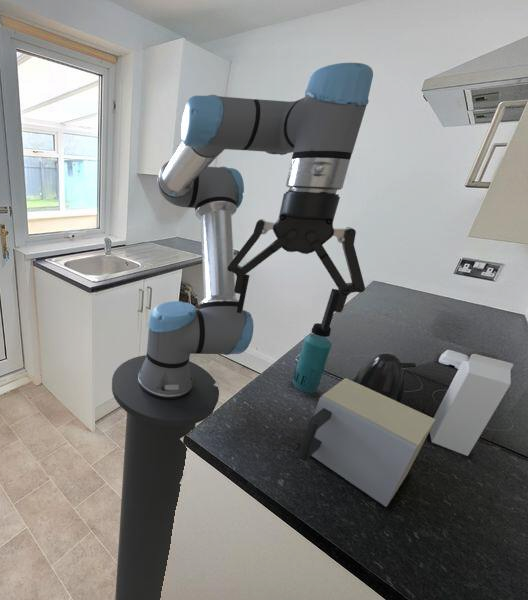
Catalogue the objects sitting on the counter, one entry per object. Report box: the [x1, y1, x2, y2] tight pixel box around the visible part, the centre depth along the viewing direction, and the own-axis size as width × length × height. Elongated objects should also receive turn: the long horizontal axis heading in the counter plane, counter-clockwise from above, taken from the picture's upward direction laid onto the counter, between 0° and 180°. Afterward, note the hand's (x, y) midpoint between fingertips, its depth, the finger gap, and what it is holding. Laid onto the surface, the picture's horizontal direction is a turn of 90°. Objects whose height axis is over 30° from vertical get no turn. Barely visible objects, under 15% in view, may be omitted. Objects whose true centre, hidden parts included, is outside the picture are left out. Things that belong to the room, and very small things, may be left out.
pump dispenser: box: [352, 352, 417, 403], centre depth 80 cm, size 10×10×15 cm
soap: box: [438, 349, 469, 370], centre depth 104 cm, size 9×7×3 cm
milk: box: [429, 353, 514, 457], centre depth 67 cm, size 6×6×22 cm
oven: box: [321, 377, 436, 502], centre depth 62 cm, size 11×15×14 cm
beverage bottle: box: [291, 322, 332, 393], centre depth 83 cm, size 6×7×20 cm
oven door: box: [297, 395, 417, 508], centre depth 57 cm, size 7×15×14 cm, turn 35°
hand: (279, 319), depth 54 cm, fingers open, 13 cm apart
